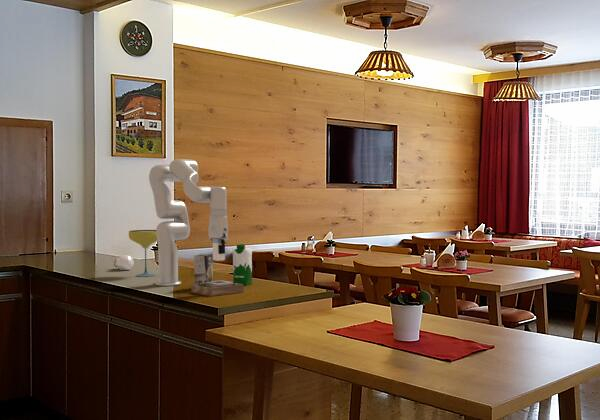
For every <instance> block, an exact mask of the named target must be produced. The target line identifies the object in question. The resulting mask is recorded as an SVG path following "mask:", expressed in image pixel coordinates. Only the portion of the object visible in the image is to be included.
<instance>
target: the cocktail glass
mask: <svg viewBox="0 0 600 420" xmlns="http://www.w3.org/2000/svg"><path fill="white" fill-rule="evenodd" d="M128 237H129V239H130V241H132V242H134V243H136V244H138V245H140V246H141V247H142V248H143V249H144V272H143V273H139V274H136V275H135V277H137V276H138V277H139V278H150V277H149V276H152V277H156V276H155V275H156V274H154V273H150V272H148V269H147V249H148V248H149V247H150V246H152V244H154V243H157V242H158V239H157V235H156V229H138V230H137V229H136V230H135V229H134V230H133V229H132V230H129V231H128Z"/></svg>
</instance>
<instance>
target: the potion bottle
mask: <svg viewBox="0 0 600 420" xmlns="http://www.w3.org/2000/svg"><path fill="white" fill-rule="evenodd" d="M113 266H114V267H116V268H117V267H118V268H117V269H119V268H120V269H119V270H122V271H123V270H125V271H129V270H132V269H133V268H132V267H134V258H133V257H132V256H131V255H129V254H122V255H121V256H119V257H118V258H115V259H114V263H113Z"/></svg>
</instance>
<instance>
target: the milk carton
mask: <svg viewBox="0 0 600 420" xmlns="http://www.w3.org/2000/svg"><path fill="white" fill-rule="evenodd" d="M252 255H253V248H249V247H248V248H247V247H246V245H245V244H236V248H232V273H233V274H232V277H233V279H232V280H233V281H232V282H233V283H237V284H243V285H244V287H245V286H246V287H247V286H250V285H252V284H253V282H252V281H253V268H252V267H253V261H252V259H253V257H252Z"/></svg>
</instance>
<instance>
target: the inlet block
mask: <svg viewBox="0 0 600 420" xmlns="http://www.w3.org/2000/svg"><path fill="white" fill-rule="evenodd" d="M226 286H233V281H228V280H223V279H222V280H213V281H211V282H206V287H207V288H217V287H226Z"/></svg>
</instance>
